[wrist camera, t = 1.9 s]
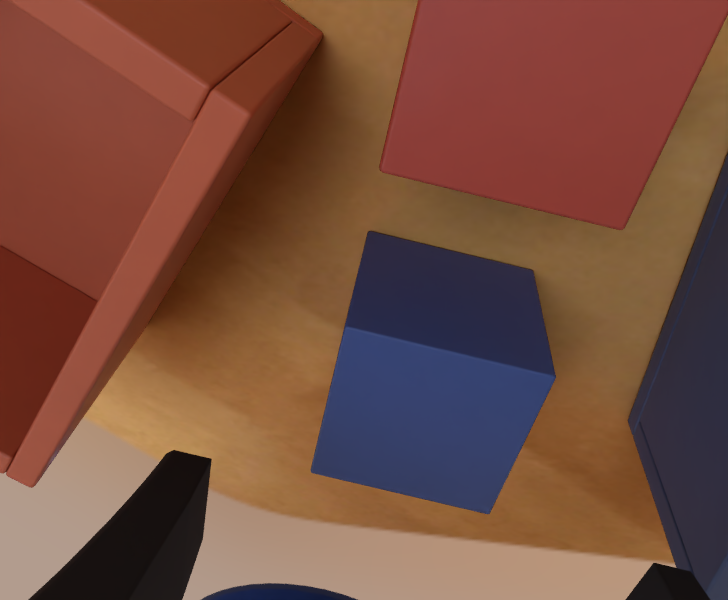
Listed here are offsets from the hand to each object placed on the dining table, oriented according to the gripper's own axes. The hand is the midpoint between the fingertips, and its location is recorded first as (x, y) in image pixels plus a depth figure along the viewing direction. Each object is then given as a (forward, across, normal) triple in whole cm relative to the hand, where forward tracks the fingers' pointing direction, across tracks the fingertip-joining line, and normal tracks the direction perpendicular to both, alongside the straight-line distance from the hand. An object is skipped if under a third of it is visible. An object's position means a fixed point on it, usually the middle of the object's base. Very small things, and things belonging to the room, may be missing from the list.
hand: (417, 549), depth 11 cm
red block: (+7, 0, -7) cm, 10 cm away
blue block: (+7, 0, 0) cm, 7 cm away
